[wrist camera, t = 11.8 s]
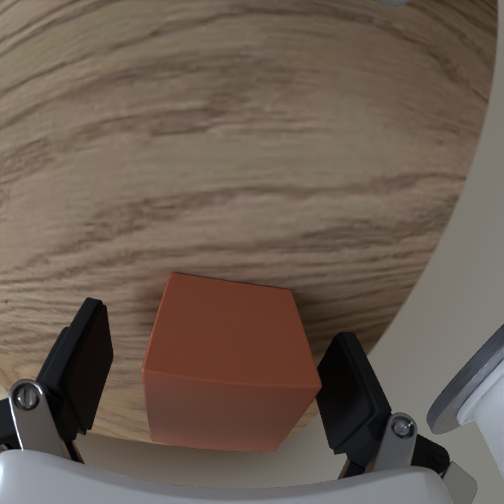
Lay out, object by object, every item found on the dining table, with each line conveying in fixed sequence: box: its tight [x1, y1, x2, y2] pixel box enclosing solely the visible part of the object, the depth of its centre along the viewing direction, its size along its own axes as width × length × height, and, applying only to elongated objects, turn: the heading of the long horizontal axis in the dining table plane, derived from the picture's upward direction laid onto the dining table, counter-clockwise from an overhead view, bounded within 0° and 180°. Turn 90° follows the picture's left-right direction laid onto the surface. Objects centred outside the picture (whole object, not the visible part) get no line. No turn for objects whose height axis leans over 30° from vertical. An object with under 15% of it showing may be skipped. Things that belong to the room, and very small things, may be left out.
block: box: [142, 272, 322, 451], centre depth 9 cm, size 5×5×5 cm
